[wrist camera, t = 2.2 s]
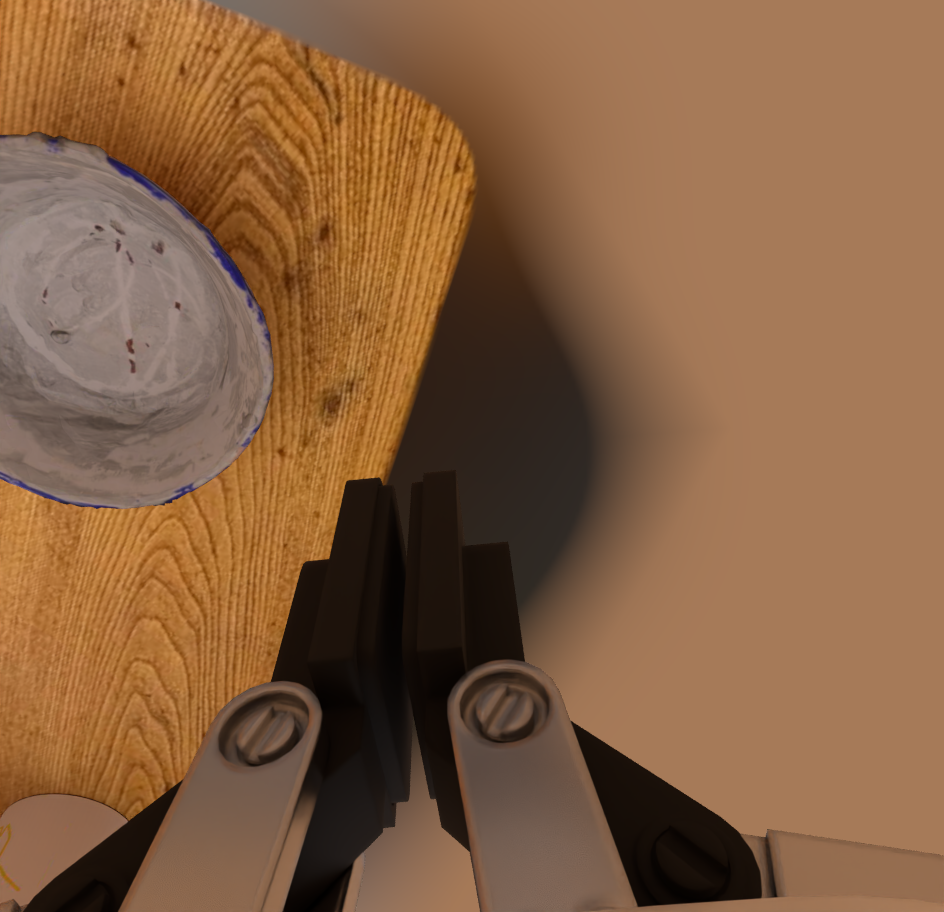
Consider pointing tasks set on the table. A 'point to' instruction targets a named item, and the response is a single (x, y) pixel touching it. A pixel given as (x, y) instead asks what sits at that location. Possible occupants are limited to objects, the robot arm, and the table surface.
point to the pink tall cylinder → (48, 840)
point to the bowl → (118, 334)
